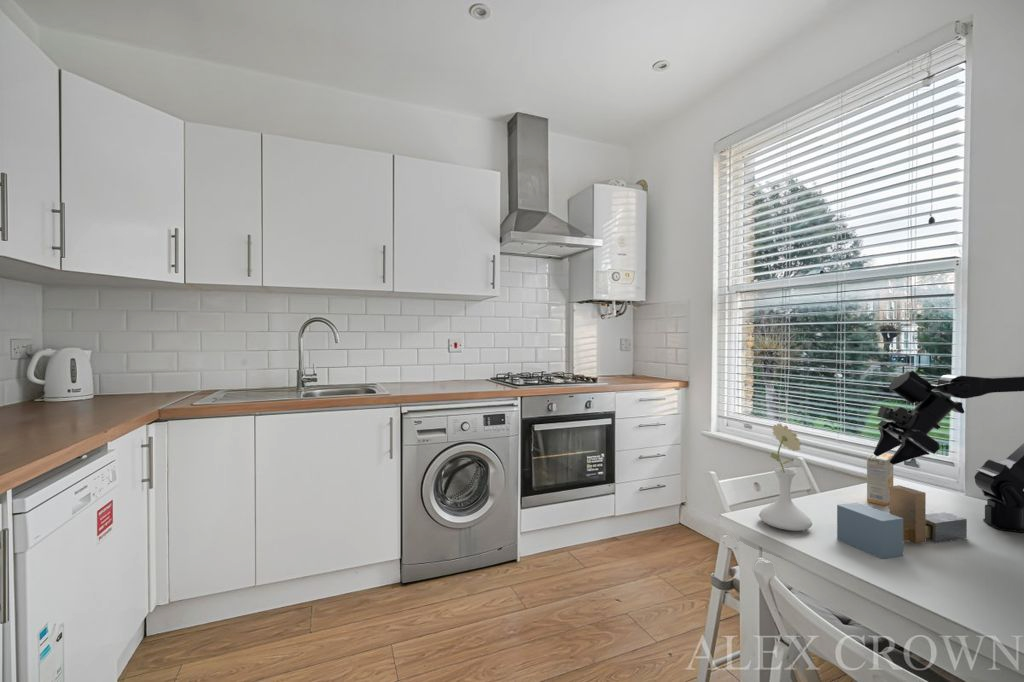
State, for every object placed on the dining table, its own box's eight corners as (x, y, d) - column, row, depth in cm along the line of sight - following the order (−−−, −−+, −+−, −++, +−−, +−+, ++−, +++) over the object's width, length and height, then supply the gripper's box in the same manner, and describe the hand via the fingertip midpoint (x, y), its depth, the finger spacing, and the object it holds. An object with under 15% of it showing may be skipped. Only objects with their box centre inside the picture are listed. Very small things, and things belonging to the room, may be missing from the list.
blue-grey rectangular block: (857, 536, 107) (857, 502, 107) (903, 555, 98) (903, 518, 98) (837, 539, 106) (837, 504, 106) (881, 559, 96) (882, 521, 96)
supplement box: (873, 495, 136) (873, 452, 137) (894, 500, 133) (894, 455, 133) (865, 501, 131) (865, 456, 131) (887, 506, 128) (887, 459, 128)
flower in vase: (821, 537, 107) (821, 430, 107) (768, 533, 109) (768, 428, 109) (798, 516, 119) (798, 421, 120) (750, 513, 122) (751, 419, 122)
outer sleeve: (944, 531, 111) (944, 512, 111) (966, 538, 106) (966, 518, 107) (914, 535, 108) (914, 515, 108) (935, 543, 104) (935, 523, 104)
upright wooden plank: (935, 527, 111) (935, 481, 111) (963, 536, 105) (963, 488, 106) (871, 536, 105) (871, 488, 106) (897, 546, 100) (897, 495, 100)
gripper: (881, 391, 129) (841, 432, 132) (916, 398, 111) (869, 446, 114) (919, 417, 126) (877, 458, 129) (961, 429, 109) (912, 476, 112)
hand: (882, 459), depth 121 cm, fingers open, 9 cm apart
